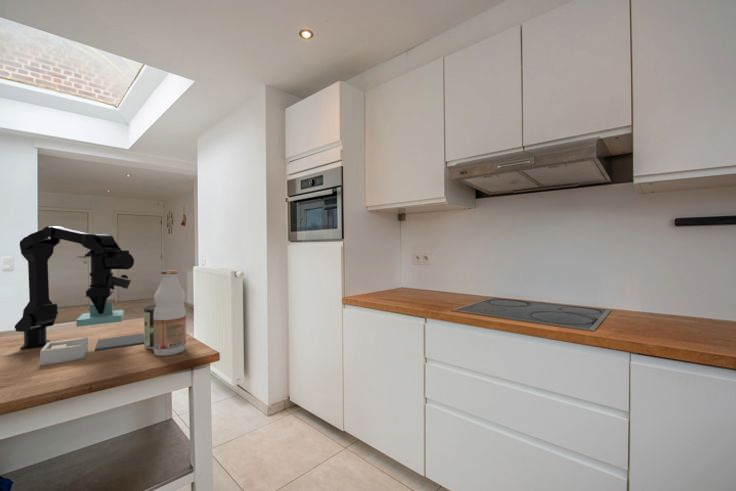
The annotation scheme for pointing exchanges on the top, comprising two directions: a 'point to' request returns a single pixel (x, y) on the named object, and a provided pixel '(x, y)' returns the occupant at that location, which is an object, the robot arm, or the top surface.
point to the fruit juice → (169, 316)
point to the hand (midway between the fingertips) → (101, 312)
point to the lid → (100, 316)
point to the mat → (119, 342)
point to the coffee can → (149, 327)
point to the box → (64, 351)
